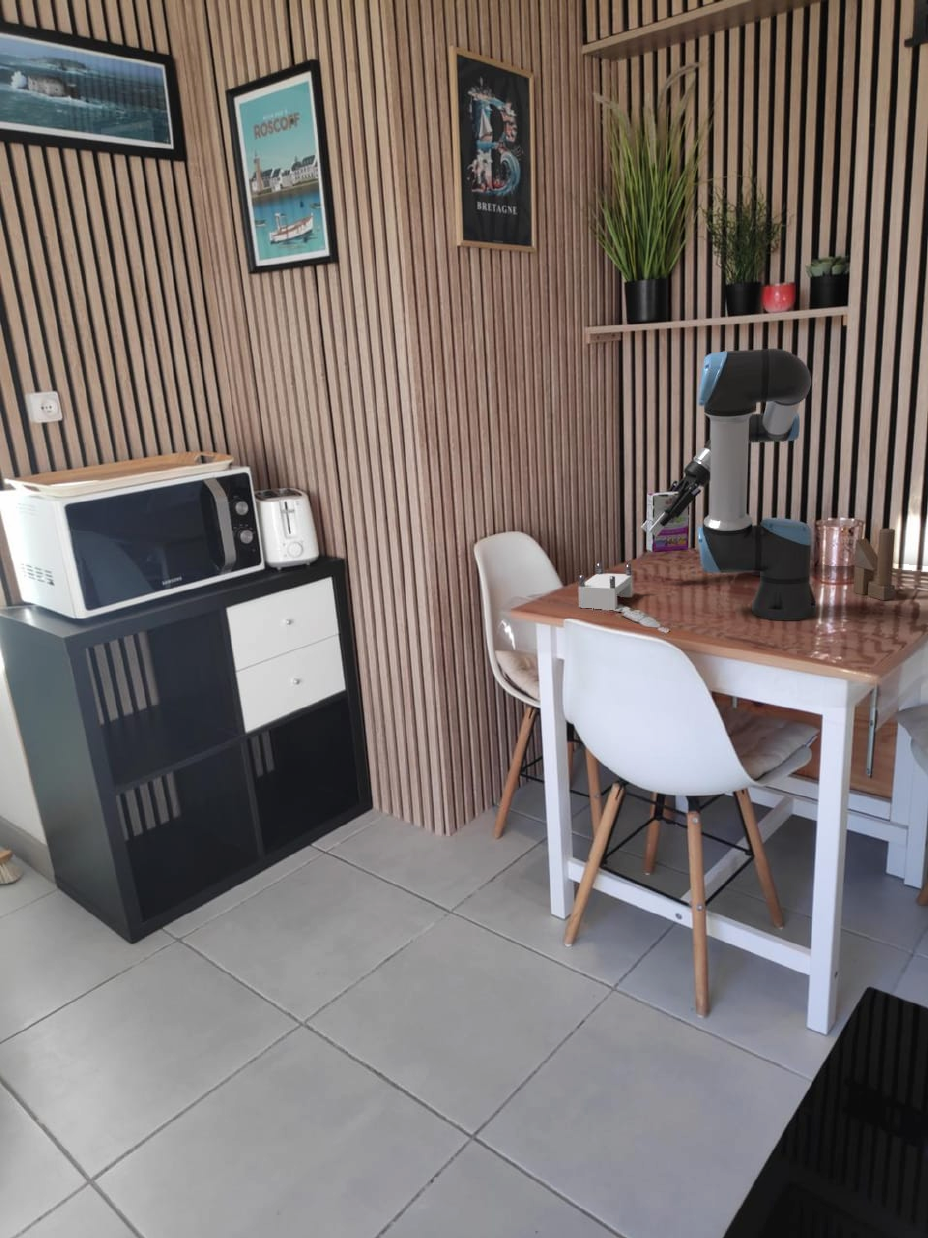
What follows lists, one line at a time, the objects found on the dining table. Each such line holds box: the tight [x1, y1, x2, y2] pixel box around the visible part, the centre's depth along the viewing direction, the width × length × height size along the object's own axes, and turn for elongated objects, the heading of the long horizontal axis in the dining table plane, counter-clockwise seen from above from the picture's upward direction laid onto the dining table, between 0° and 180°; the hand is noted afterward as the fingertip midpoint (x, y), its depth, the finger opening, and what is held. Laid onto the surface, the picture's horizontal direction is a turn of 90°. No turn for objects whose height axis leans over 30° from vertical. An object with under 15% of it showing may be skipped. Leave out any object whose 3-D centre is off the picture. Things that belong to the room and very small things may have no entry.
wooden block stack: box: [852, 528, 896, 601], centre depth 233 cm, size 4×11×18 cm, turn 20°
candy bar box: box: [646, 491, 691, 553], centre depth 256 cm, size 11×5×16 cm, turn 102°
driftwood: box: [612, 603, 670, 634], centre depth 234 cm, size 37×5×2 cm, turn 20°
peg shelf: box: [578, 562, 634, 611], centre depth 246 cm, size 10×16×9 cm, turn 153°
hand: (648, 531), depth 256 cm, fingers closed on candy bar box, 5 cm apart
